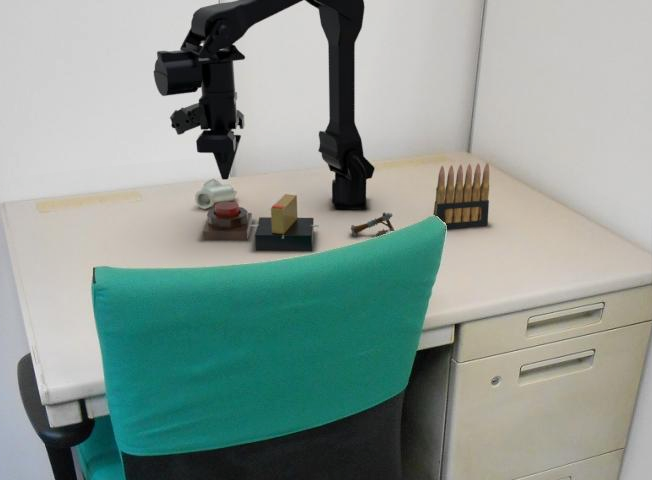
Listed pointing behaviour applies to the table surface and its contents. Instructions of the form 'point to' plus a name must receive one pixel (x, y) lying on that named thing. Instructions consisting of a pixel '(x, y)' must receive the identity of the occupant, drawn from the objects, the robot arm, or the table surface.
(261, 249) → the dark rectangular block base
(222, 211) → the button
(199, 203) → the pipe fitting
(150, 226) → the table surface
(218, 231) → the button housing
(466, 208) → the ammunition clip
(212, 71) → the robot arm
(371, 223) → the wooden post with brackets
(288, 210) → the olive rectangular block
